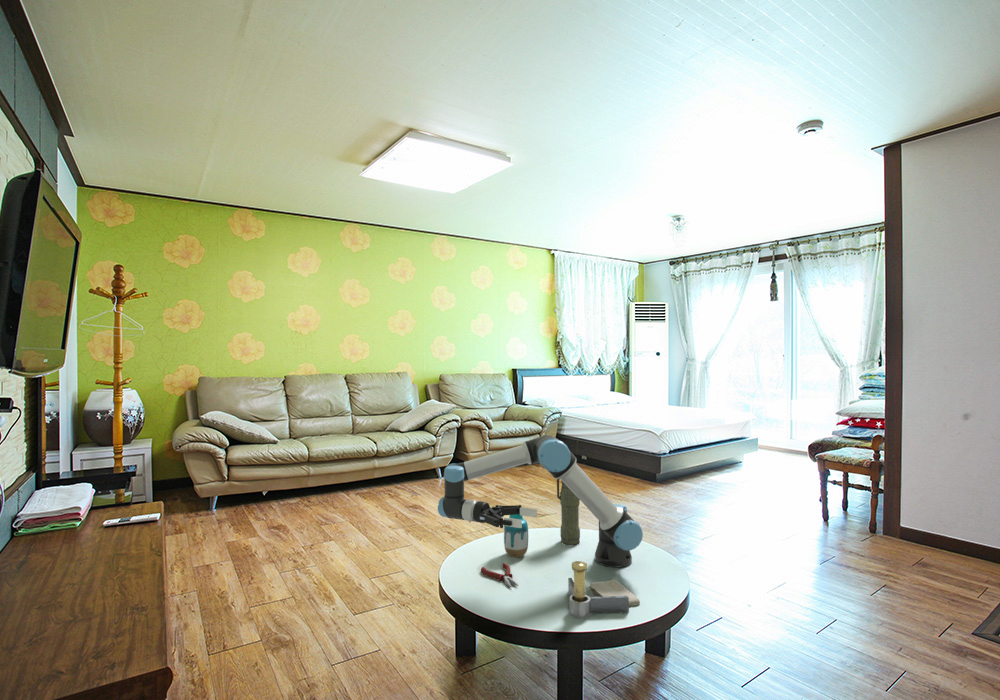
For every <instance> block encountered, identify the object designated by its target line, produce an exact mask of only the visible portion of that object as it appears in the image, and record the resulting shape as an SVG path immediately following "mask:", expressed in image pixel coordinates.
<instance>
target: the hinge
mask: <svg viewBox="0 0 1000 700" xmlns="http://www.w3.org/2000/svg"><path fill="white" fill-rule="evenodd" d="M567 580H568V581H567V583H568V586H567V588H568V594H569V595H570V596H569V598H568V602H569V603H568V607H569V608H568V611H569V612H568V613H569V615H570V616H571V617H572V616H573V618H574V617H575V619H579V620H582V619H587V618H590V617H591V615H598V614H621V613H620V612H623V613H627V612H628V613H630V606H629V597H628V596H605V597H596V596H588V595H587V594H585V602H577V601H574V579H573V578H572V577H568V579H567ZM623 613H622V614H623Z"/></svg>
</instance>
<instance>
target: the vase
mask: <svg viewBox="0 0 1000 700" xmlns="http://www.w3.org/2000/svg"><path fill="white" fill-rule="evenodd" d="M508 516H509V517H508V518H513V519H520V520H522V528H516V527H509V526H504V525H503V544H504V545H503V546H504V550H505V552H506V554H507V555H508V556H510V557H514V558H519V557H522V556H525V554H527V552H528V548H529V526H528V522H527V520H526V519H525V518H524V516H522V515H520V514H516V515H508Z"/></svg>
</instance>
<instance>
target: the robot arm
mask: <svg viewBox="0 0 1000 700" xmlns="http://www.w3.org/2000/svg"><path fill="white" fill-rule="evenodd" d="M525 464H527V465H534V464H540V466H542V467H543V469H545V470H546V471H547V472H548V473H549V475H551V477H553V478H554V479H556V480H557V479H560V480H562V481H563V482H564V483H565V484H566V485H567V486H568V488H569V489H570V490H571V491H572V492H573V493H574V494H575V495H576V496H577V497H578V498H579V499H580V500H579V502H580V503H582V504H583V506H585V507H586V509H588V510H589V511H590V512H591V514H592V515H594V517H595V518H596V519H597V520H598V542H597V545H596V550H595V552H594V560H595V562H596V563H597V564H599V565H602V566H605V567H609V566H610V568H611V567H613V568H622V567H627V566H629V565H631V564H632V563H633V559H632V558H633V557H632V553H631V551H632V550H634V549H636V548H637V547H639V546H640V545H641V543H642V541H643V538H644V537H643V535H644V533H643V529H642V527H641V526H640V524H639V522H637V521H635V520H634V519H633V518H632V517H631V515H629V514H628V509H627V506H626V505H624V504H620V503H619V504H617V503H613V502H612V500H610V499H609V497H608V496H607V495H606V494H605V493H604V491H602V490H601V489H600V487H599V486H598V485H597V484H596V483H595V482H594V481H593V480H592V479H591V478H590V477H589V475H587V473H585V471H583V469H582V468H581V467H580V466H579V465H578V463H577V457H576V456H575V455H574V453H572V452H571V451H570V448H569V447H568V445H567V444H566V443H565V442H564V441H561V440H559V439H558V438H556V437H555V436H552V435H547V434H546V435H541V436H538V437H536V438H532V439H529V440H526V441H523V442H522V444H521V445H518V446H514V447H510V448H507V449H504V450H501V451H497V452H492V453H490V454H487V455H484V456H483V455H482V456H481V457H480V456H479V457H477V458H474V459H470V460H467V461H464V462H459V463H450V464H448V465H447V466H446V467H445V468H444V472H443V477H444V480H443V481H444V483H443V484H444V485H443V486H444V489H443V490H444V494H443V495H444V496H442V497H441V498H440V499H439V501H438V505H437V512H438V514H439V516H441V517H442V518H447V519H454V520H461V521H468V522H469V523H471V522H475V523H481V524H485V523H486V524H488V525H490V526H493V527H494V528H500V529H504V526H509V527H516V528H522V520H520V519H513V518H509V517H506V516H510V515H516V514H520V515H522V517H530V518H538V512H537V511H538V509H536V508H528V507H527V508H526V507H522V504H519V505H517V504H516V505H498V504H495V506H490V504H489V503H488V502H487V501H481V500H480V501H478V500H473V499H465V482H467V481H470V480H473V479H478V478H480V477H484V476H487V475H491V474H494V473H498V472H501V471H504V470H509V469H511V468H515V467H518V466H521V465H525ZM504 516H505V517H504Z"/></svg>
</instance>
